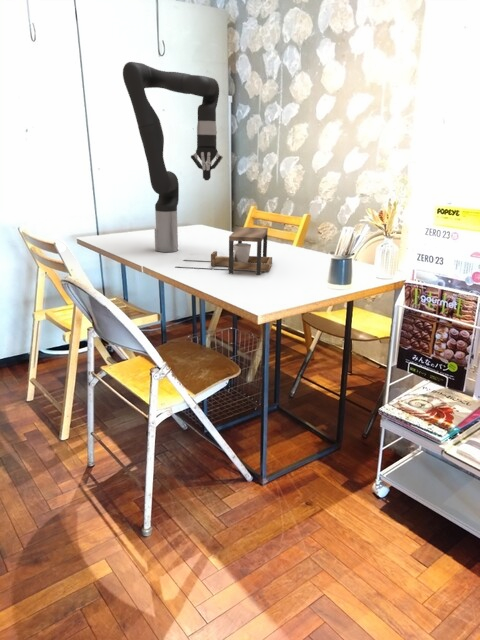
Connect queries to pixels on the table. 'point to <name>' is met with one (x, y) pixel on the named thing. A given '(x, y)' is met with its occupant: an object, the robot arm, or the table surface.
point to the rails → (212, 268)
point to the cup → (241, 252)
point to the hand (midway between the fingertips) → (206, 180)
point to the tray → (242, 266)
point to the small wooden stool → (250, 236)
